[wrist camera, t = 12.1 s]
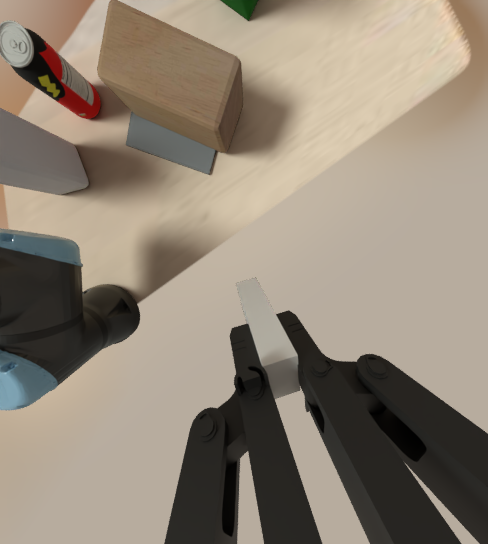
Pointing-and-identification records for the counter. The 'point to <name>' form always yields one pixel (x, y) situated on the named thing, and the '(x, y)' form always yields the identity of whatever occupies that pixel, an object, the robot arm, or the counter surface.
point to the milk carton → (242, 6)
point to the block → (171, 76)
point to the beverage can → (47, 70)
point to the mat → (169, 145)
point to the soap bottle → (37, 158)
